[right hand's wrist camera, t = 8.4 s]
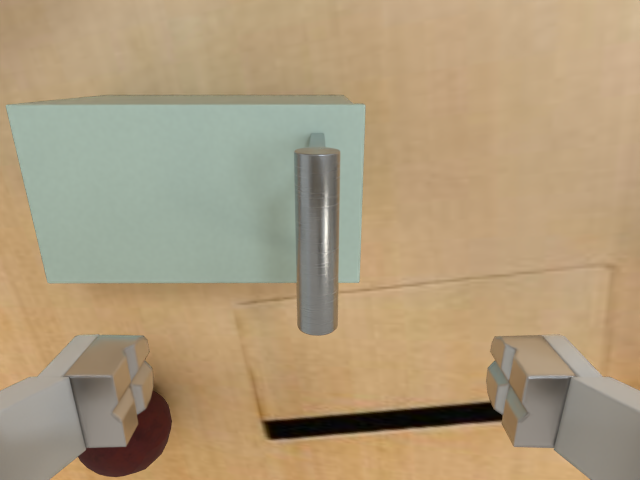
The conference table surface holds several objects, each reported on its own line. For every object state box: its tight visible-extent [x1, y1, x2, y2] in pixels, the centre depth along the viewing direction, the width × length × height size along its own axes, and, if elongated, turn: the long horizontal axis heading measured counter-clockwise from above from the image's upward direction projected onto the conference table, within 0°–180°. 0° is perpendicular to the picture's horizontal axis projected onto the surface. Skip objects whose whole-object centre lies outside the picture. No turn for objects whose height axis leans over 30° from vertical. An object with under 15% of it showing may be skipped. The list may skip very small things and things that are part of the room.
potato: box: [78, 391, 172, 477], centre depth 38 cm, size 7×8×7 cm
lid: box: [6, 104, 365, 335], centre depth 21 cm, size 18×10×8 cm, turn 90°
